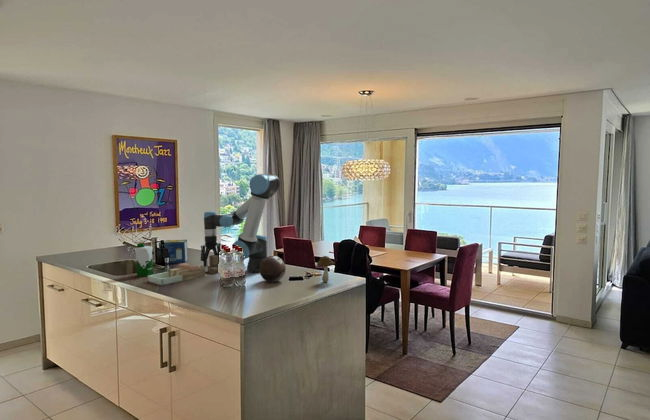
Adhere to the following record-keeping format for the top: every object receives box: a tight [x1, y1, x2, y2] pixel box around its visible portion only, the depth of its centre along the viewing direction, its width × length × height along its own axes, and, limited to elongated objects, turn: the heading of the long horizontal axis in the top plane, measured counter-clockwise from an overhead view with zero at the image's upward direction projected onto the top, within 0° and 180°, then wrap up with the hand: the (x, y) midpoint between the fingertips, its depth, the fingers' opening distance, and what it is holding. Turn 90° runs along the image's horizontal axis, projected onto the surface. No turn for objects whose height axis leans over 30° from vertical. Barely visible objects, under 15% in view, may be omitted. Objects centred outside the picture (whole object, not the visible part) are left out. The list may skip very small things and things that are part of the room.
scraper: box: [199, 254, 220, 275], centre depth 271 cm, size 16×7×10 cm, turn 50°
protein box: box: [163, 239, 189, 264], centre depth 305 cm, size 10×15×16 cm
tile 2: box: [183, 263, 193, 269], centre depth 258 cm, size 4×4×2 cm
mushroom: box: [316, 255, 335, 283], centre depth 238 cm, size 9×11×15 cm
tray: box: [147, 271, 184, 287], centre depth 246 cm, size 16×13×4 cm
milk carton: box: [134, 243, 154, 278], centre depth 262 cm, size 9×9×20 cm
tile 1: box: [188, 264, 199, 270], centre depth 254 cm, size 4×4×2 cm
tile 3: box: [178, 262, 188, 268], centre depth 261 cm, size 4×4×2 cm
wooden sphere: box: [259, 255, 287, 283], centre depth 240 cm, size 15×15×15 cm
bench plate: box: [168, 266, 206, 282], centre depth 257 cm, size 15×16×5 cm
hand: (211, 270), depth 271 cm, fingers closed on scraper, 7 cm apart
